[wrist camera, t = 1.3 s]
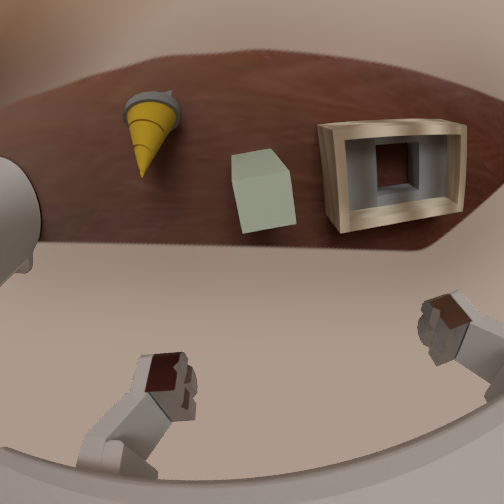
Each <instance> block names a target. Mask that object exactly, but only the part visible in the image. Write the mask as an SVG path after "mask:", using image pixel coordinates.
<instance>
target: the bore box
mask: <svg viewBox="0 0 504 504" xmlns="http://www.w3.org/2000/svg"><path fill="white" fill-rule="evenodd" d="M317 131H318V139H319V147H320V156H321V165H322V175H323V185H324V196H325V209H326V215H327V216H328V218H329V219H330V220H331V222H332V223H333V224H334V226H335V227H336V228H337V230H338V231H339V232H340V234H341V233H346V232H351V231H357V230H362V229H368V228H373V227H379V226H384V225H389V224H395V223H400V222H406V221H411V220H417V219H422V218H428V217H433V216H439V215H444V214H449V213H455V212H460V211H463V203H464V193H465V180H466V160H467V126H466V125H463V124H459V123H455V122H451V121H446V120H442V119H388V120H368V121H353V122H340V123H330V124H320V125H317ZM394 143H407V148H408V183H407V184H399V185H392V186H384V187H377V165H376V147H375V145H381V144H394Z"/></svg>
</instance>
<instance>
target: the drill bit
mask: <svg viewBox="0 0 504 504" xmlns="http://www.w3.org/2000/svg"><path fill="white" fill-rule="evenodd" d="M171 93H172V90H170V91H166V92H163V93H161V92H157V91H156V92H152V91H151V92H143V93H139V94H137V95H135V96H133V97H132V98H131V99H130V100H128V102H127V104H126V107H125V110H124V114H123V119H124V122H125V123H126V125H127V126H128V127H129V130H130V134H131V138H132V143H133V147H134V151H135V155H136V159H137V163H138V167H139V169H140V170H141V171H140V175H141V177H143V176H144V174H145V172H146V170H147V169H148V167H149V165H150V163H151V162H152V160H153V158H154V157H155V155H156V153H157V151H158V150H159V148H160V146H161V145H162V143H163V142H164V140H165V138H166V137H167V135H168V133H169V132H170V131H172V130H173V129H175V128H176V127H177V126H178V124H179V122H180V117H181V107H180V105H179V103H178V102H177V101H176V100H175V99H174V98H173V97H171Z"/></svg>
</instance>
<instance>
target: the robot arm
mask: <svg viewBox="0 0 504 504" xmlns="http://www.w3.org/2000/svg"><path fill="white" fill-rule="evenodd" d="M40 228H41V217H40V209H39V204H38V201H37V197H36V194H35V192H34V189H33V187H32V185H31V183H30V181H29V180H28V178H27V176H26V175H25V174H24V172H23V171H22V170H21V169H20V168H19V167H18V166H17V165H16V164H14V163H13V162H11V161H10V160H7V159H5V158H2V157H0V286H1V285H2V284H3V283H4V282H5V281H6V280H7V279H8V278H10V277H11V276H12V275H13V274H14V273H28V272H29V271H30V270H31V269H32V265H33V251H34V248H35V246H36V244H37V242H38V239H39V235H40ZM421 311H422V312H423V315H422V316H421V318H420V319H419V321H418V327H417V328H418V335H419V337H420V340H421V342H422V343H423V344H424V345H425V346H428V347H429V355H430V356H431V358H432V360H433V361H434V363H435V365H436V366H439V365H441V364H444V363H447V362H449V361H451V360H454V359H455V361H457V362H459V363H460V364H462V365H463V366H465V367H466V368H468V369H469V370H471V371H472V372H474V373H475V374H477V375H478V376H480V377H481V378H483V379H484V380H486V381H487V382H489V383H490V384H491V385H490V386H489V388H488V389H487V391H486V393H485V395H484V397H485V399H486V401H487V403H486V404H484V405H483V406H481V407H479V408H477V409H476V410H474V411H472V412H470V413H468V414H466V415H464V416H463V417H461V418H459V419H457V420H455V421H453V422H451V423H448V424H446V425H444V426H443V427H440V428H438V429H436V430H433V431H431V432H429V433H427V434H424V435H422V436H419V437H417V438H415V439H412V440H409V441H407V442H404V443H402V444H399V445H396V446H394V447H391V448H388V449H385V450H382V451H379V452H376V453H373V454H370V455H366V456H363V457H359V458H356V459H352V460H348V461H345V462H341V463H337V464H332V465H328V466H324V467H319V468H314V469H310V470H304V471H299V472H293V473H287V474H280V475H273V476H265V477H256V478H245V479H231V480H204V481H185V480H160V479H158V471H157V470H156V469H155V468H154V467H152V466H151V465H150V464H148V463H147V462H146V459H147V458H148V457H149V455H150V453H151V452H152V451H153V449H154V448H155V446H156V445H157V444H158V442H159V441H160V439H161V438H162V437H163V435H164V433H165V432H166V430H167V429H168V428H169V426H170V425H171V423H172V422H174V421H189V420H195V412H196V403H195V401H194V399H193V397H194V396H195V395H196V394H197V378H196V375H195V372H194V370H193V368H192V367H191V366H189V365H187V363H188V358H187V357H186V355H185V353H184V352H176V353H163V354H153V355H141V357H140V358H139V359H138V363H137V367H136V370H135V374H134V378H133V382H132V386H131V389H130V393H126V394H125V395H124V396H123V397H122V398H121V399H120V400H119V401H118V402H117V403H116V404H115V405H114V406H113V407H112V408H111V409H110V410H109V411H108V412H107V413H106V414H105V415H104V416H103V417H102V418H101V419H100V420H99V421H98V422H97V423H96V424H95V425H94V426H93V427H92V428H91V429H90V430H89V431H88V432H87V433H86V434H85V435H84V437H83V440H82V445H81V448H80V452H79V456H78V460H77V464H76V467H71V466H67V465H63V464H59V463H55V462H51V461H48V460H44V459H41V458H38V457H34V456H31V455H28V454H25V453H22V452H20V451H17V450H14V449H12V448H8V447H1V448H0V504H504V323H502V322H500V321H497V320H495V319H493V318H490V317H488V316H484V317H483V316H482V315H481V314H480V313H479V311H478V310H477V309H476V308H475V307H474V306H473V304H472V303H471V302H470V301H469V300H468V299H467V298H466V297H465V295H464V294H463V293H462V292H461V291H459V290H456V291H453V292H450V293H447V294H444V295H442V296H439V297H436V298H433V299H429V300H426V301H424V303H423V304H422V308H421Z"/></svg>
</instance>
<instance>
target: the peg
mask: <svg viewBox="0 0 504 504" xmlns="http://www.w3.org/2000/svg"><path fill="white" fill-rule="evenodd" d="M231 159H232V185H233V189H234V194H235V199H236V204H237V209H238V213H239V218H240V223H241V228H242V232H243V233H249V232H254V231H259V230H265V229H270V228H276V227H281V226H287V225H292V224H296V217H295V209H294V201H293V193H292V186H291V178H290V171H289V170H288V169H287V168H286V166H285V165H284V164H283V163H282V161H281V160H280V159H279V158H278V157H277V155H276V154H275V153H274V152H273V150H272V149H265V150H259V151H254V152H248V153H243V154H237V155H232V156H231Z"/></svg>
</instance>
